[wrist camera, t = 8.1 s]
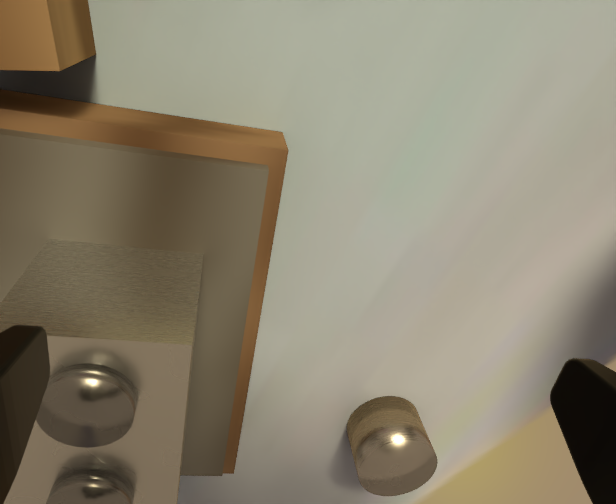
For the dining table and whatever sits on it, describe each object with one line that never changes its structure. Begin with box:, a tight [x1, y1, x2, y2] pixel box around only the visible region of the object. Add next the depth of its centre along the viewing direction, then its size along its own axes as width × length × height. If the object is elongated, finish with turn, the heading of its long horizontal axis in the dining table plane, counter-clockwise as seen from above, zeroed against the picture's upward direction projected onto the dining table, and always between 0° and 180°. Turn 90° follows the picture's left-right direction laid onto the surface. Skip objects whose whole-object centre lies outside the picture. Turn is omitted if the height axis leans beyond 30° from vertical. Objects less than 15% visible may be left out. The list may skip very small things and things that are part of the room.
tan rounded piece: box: [347, 396, 437, 496], centre depth 25 cm, size 4×4×3 cm
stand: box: [0, 89, 288, 476], centre depth 20 cm, size 10×16×3 cm, turn 169°
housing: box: [0, 239, 203, 504], centre depth 16 cm, size 8×5×6 cm, turn 169°
